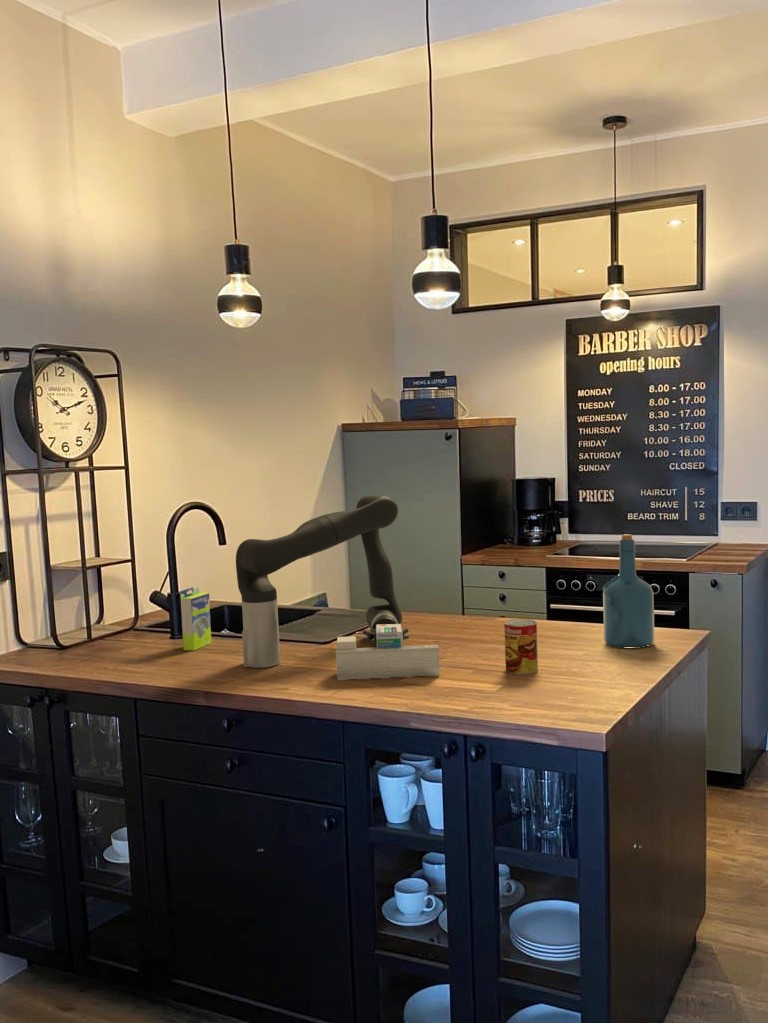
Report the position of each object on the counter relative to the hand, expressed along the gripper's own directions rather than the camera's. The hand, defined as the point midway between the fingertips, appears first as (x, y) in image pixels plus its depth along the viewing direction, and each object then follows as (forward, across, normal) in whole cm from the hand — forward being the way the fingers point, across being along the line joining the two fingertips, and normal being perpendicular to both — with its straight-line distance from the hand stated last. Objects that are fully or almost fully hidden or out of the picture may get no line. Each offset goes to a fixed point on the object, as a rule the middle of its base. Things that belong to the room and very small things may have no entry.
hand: (386, 641), depth 234 cm
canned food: (+12, +33, +6) cm, 36 cm away
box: (-32, -55, +6) cm, 64 cm away
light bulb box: (+5, +1, +6) cm, 8 cm away
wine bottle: (-11, +66, +6) cm, 67 cm away
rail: (+10, 0, +6) cm, 12 cm away
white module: (+8, -10, +6) cm, 14 cm away
